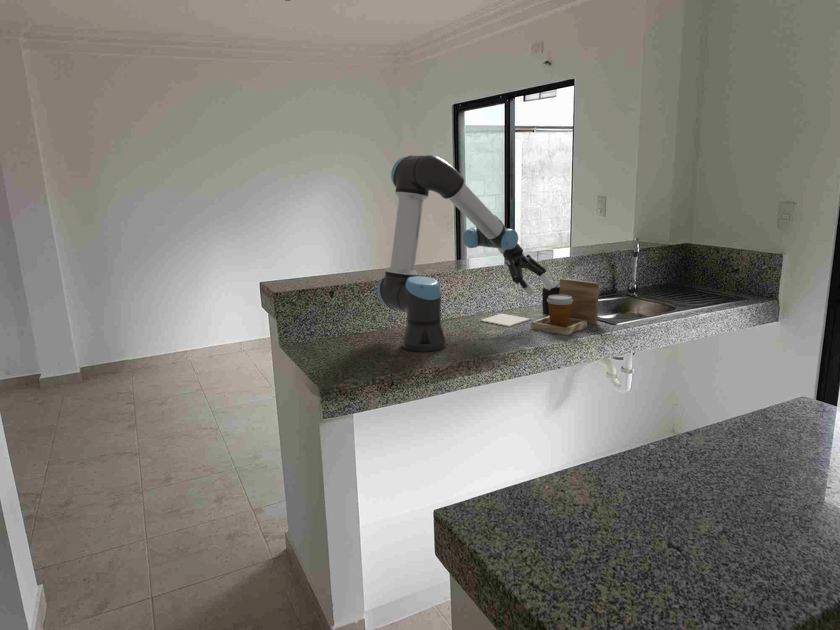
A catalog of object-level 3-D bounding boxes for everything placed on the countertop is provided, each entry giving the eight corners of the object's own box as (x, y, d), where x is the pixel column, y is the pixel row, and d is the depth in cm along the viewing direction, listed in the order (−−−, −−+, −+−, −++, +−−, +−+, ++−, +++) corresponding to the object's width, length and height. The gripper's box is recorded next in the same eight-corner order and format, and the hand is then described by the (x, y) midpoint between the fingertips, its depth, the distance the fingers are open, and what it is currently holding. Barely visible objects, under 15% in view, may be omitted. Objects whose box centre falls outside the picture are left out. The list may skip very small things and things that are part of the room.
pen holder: (545, 309, 260) (545, 286, 258) (567, 310, 256) (567, 287, 254) (539, 313, 252) (539, 290, 250) (561, 315, 248) (562, 291, 246)
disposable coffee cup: (544, 330, 227) (545, 298, 224) (547, 324, 236) (548, 293, 233) (570, 331, 224) (571, 300, 221) (572, 325, 233) (574, 294, 230)
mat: (509, 327, 232) (509, 325, 232) (480, 321, 242) (480, 319, 242) (529, 320, 242) (529, 318, 242) (501, 314, 252) (501, 313, 251)
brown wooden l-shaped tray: (567, 335, 219) (569, 292, 215) (529, 328, 230) (530, 286, 226) (596, 323, 235) (599, 283, 231) (560, 317, 245) (561, 278, 242)
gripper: (496, 246, 228) (529, 290, 221) (533, 239, 245) (565, 280, 239) (485, 259, 232) (517, 302, 226) (522, 251, 250) (553, 291, 243)
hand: (542, 291), depth 232 cm, fingers open, 13 cm apart
